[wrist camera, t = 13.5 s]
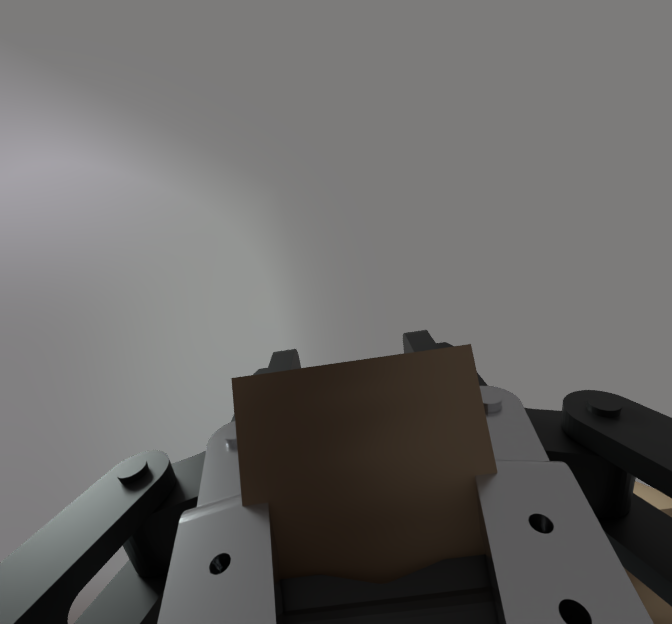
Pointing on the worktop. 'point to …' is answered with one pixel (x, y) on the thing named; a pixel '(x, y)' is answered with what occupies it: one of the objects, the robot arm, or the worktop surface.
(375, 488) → the rail
